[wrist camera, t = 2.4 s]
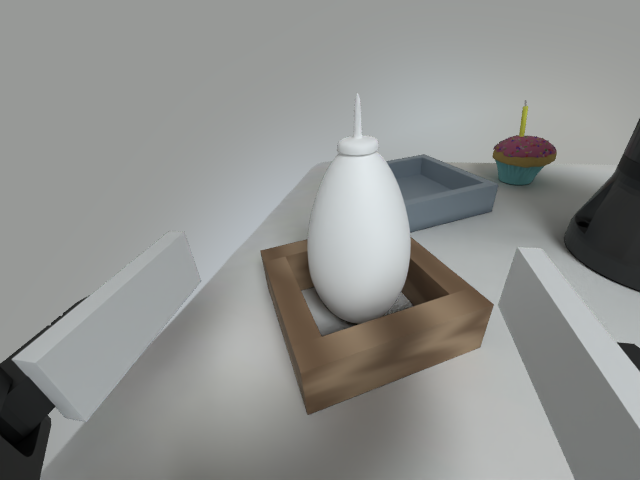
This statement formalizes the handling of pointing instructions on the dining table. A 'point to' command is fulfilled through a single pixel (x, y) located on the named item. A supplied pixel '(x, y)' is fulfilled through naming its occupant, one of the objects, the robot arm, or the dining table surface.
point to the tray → (440, 191)
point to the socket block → (373, 327)
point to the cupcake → (522, 156)
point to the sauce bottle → (359, 232)
